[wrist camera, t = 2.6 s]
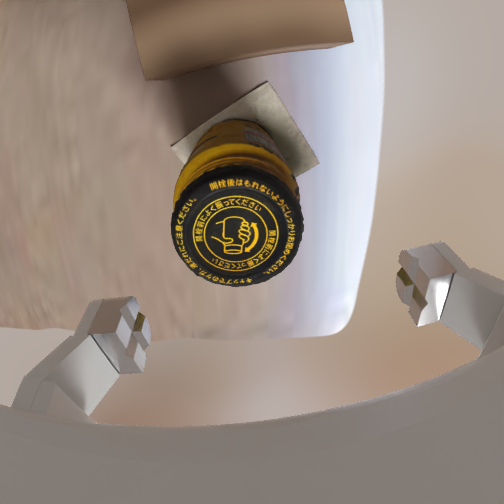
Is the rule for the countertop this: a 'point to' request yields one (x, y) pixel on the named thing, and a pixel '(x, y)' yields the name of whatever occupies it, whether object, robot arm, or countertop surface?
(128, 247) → the countertop surface
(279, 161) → the condiment
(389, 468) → the robot arm
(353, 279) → the countertop surface
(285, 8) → the walnut block
